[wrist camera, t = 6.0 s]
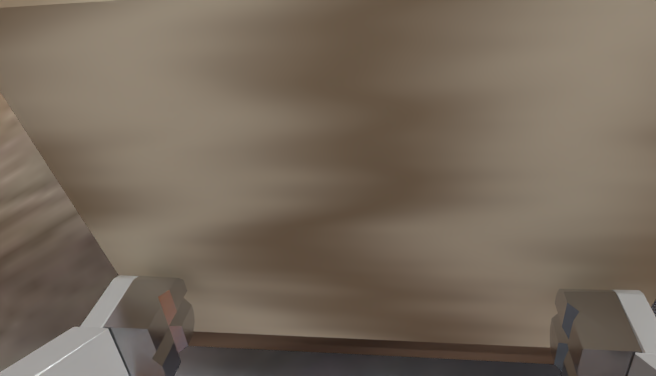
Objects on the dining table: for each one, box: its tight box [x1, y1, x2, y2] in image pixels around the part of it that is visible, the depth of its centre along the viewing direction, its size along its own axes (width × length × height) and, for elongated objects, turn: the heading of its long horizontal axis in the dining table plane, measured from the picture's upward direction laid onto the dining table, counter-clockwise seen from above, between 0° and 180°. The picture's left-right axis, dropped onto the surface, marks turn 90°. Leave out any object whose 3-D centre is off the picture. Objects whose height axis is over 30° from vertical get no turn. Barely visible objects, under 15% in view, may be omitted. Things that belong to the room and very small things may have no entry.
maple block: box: [0, 0, 656, 364], centre depth 12 cm, size 12×4×10 cm
